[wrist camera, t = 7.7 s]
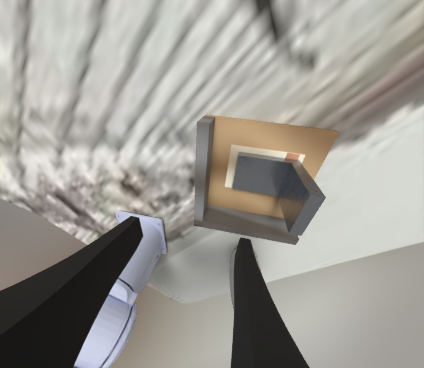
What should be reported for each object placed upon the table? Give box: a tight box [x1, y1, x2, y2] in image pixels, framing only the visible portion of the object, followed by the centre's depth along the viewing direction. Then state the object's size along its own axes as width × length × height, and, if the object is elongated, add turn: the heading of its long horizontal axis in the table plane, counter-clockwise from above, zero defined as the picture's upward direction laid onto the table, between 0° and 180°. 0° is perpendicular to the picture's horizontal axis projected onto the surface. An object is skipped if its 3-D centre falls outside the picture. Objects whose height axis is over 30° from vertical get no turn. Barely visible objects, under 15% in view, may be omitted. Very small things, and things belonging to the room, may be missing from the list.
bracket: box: [232, 152, 326, 236], centre depth 14 cm, size 6×4×6 cm, turn 85°
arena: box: [194, 115, 339, 245], centre depth 16 cm, size 12×12×4 cm
